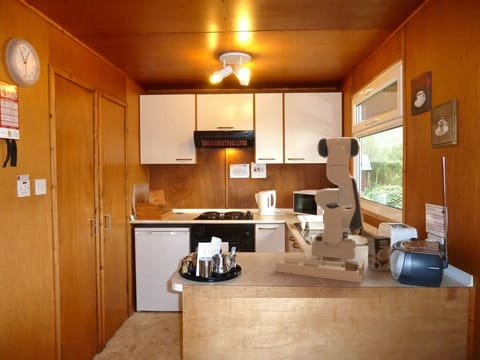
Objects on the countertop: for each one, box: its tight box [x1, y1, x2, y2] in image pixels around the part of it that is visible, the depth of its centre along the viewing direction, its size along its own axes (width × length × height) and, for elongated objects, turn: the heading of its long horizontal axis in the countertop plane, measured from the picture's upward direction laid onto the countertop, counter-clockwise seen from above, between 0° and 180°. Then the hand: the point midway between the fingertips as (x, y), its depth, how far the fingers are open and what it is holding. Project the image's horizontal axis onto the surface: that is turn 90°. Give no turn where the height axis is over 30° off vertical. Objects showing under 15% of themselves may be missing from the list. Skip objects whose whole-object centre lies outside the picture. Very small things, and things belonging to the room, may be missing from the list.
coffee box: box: [367, 235, 392, 272], centre depth 170 cm, size 9×6×16 cm
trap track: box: [275, 256, 365, 283], centre depth 164 cm, size 13×40×6 cm, turn 64°
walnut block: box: [345, 260, 359, 272], centre depth 157 cm, size 5×5×4 cm
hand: (333, 266), depth 161 cm, fingers open, 8 cm apart
